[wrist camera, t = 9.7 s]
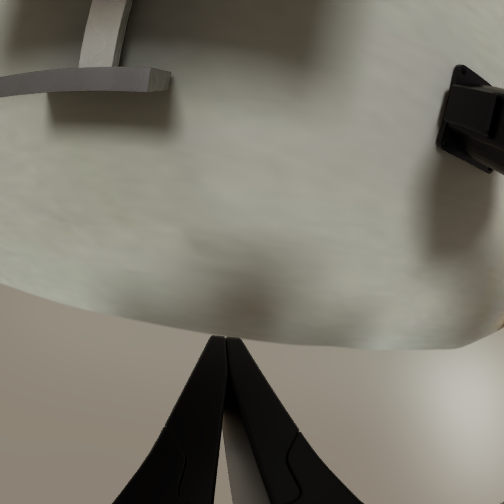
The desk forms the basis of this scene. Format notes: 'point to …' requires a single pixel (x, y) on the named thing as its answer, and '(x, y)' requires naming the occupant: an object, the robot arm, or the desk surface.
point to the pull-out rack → (94, 61)
